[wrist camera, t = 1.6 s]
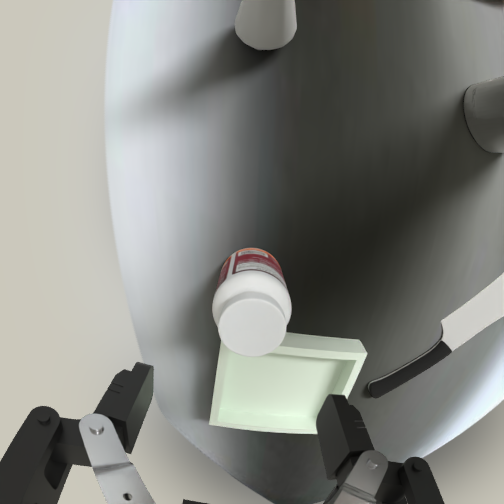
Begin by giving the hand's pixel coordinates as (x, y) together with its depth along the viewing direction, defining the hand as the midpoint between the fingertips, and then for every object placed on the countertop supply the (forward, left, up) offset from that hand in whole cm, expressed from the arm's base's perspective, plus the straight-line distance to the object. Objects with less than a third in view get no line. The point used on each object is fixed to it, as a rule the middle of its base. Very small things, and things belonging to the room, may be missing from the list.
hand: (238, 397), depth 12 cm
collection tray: (-7, +14, -19) cm, 24 cm away
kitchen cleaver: (-31, +4, -19) cm, 36 cm away
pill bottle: (-1, +1, -19) cm, 19 cm away
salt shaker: (+2, -24, -19) cm, 31 cm away
